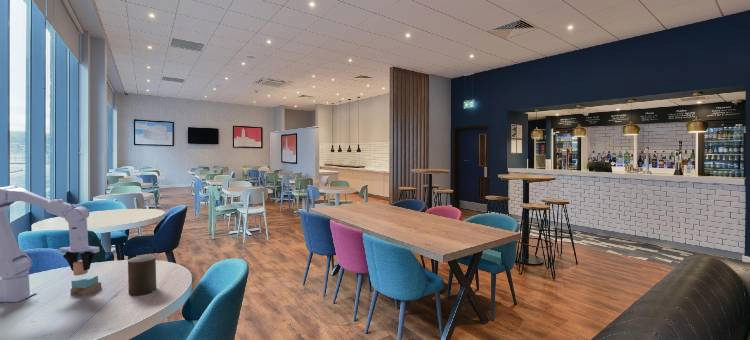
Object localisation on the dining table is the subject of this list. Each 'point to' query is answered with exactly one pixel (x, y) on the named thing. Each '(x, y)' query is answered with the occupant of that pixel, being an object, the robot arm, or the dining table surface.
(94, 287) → the walnut base slab
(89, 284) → the teal top slab
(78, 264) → the terracotta cylinder
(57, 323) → the dining table surface
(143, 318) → the dining table surface
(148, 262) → the pillar candle
